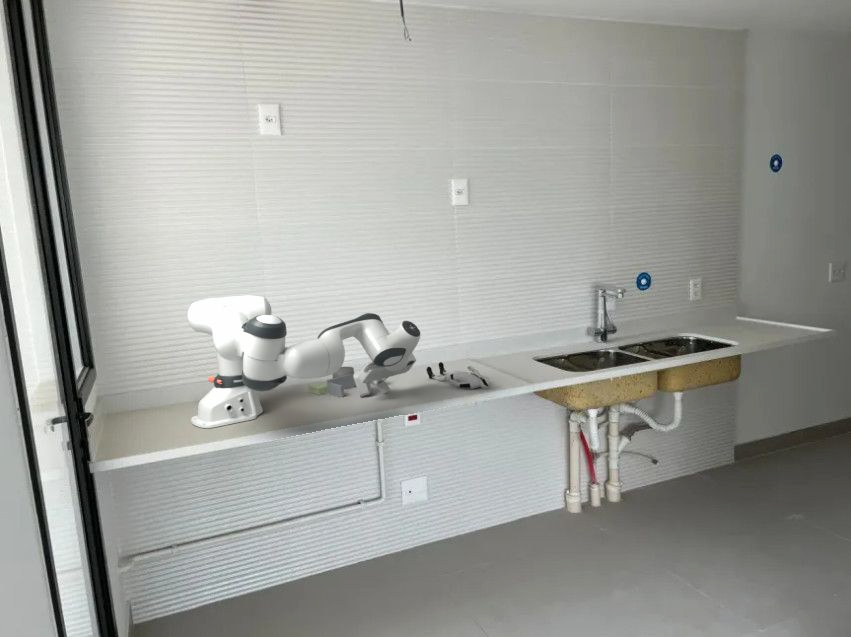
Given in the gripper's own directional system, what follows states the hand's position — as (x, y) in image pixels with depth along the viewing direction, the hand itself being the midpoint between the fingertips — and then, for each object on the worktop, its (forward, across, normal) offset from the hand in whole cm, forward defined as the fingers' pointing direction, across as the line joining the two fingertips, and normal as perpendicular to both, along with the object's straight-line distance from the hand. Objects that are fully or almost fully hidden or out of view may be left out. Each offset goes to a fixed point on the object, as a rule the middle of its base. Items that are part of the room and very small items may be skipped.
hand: (377, 382), depth 219 cm
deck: (+14, -1, +8) cm, 17 cm away
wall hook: (+5, -1, -2) cm, 5 cm away
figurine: (-5, +28, -12) cm, 31 cm away
